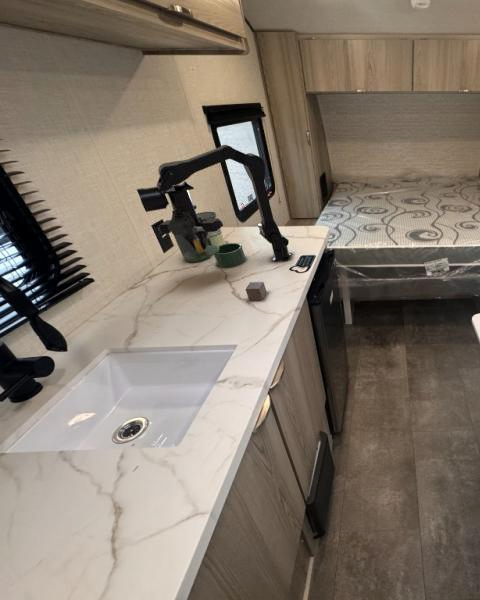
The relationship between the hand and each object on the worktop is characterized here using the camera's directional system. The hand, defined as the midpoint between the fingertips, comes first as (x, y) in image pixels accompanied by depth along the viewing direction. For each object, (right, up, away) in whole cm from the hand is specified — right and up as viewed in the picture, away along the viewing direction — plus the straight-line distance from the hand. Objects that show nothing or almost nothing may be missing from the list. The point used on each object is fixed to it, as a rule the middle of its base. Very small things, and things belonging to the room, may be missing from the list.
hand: (200, 249), depth 114 cm
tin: (+2, -2, +18) cm, 18 cm away
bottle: (-14, 0, +22) cm, 26 cm away
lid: (0, -1, +1) cm, 2 cm away
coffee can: (-14, +6, +32) cm, 36 cm away
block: (+23, -17, -5) cm, 29 cm away
